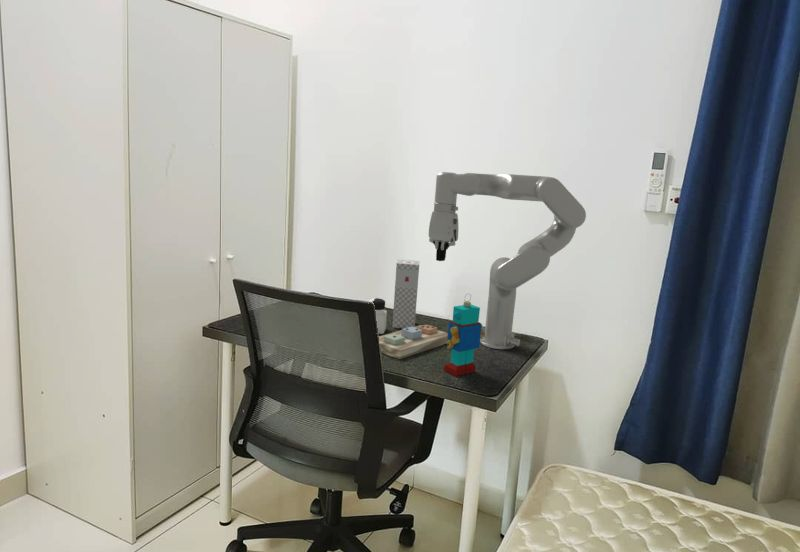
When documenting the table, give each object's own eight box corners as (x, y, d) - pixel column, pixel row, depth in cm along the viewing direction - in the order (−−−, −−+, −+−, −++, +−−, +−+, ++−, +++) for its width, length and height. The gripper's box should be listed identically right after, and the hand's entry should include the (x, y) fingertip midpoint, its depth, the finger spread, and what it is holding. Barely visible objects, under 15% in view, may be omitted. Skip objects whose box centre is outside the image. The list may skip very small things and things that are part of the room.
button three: (436, 335, 203) (437, 327, 203) (428, 338, 200) (428, 329, 199) (426, 332, 207) (426, 323, 206) (417, 334, 203) (418, 326, 202)
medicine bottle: (385, 328, 213) (387, 298, 211) (383, 334, 207) (385, 302, 204) (367, 326, 214) (369, 296, 212) (364, 332, 207) (366, 300, 205)
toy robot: (467, 365, 181) (474, 289, 176) (480, 371, 176) (488, 294, 171) (439, 371, 174) (446, 292, 169) (452, 378, 169) (460, 297, 164)
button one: (404, 345, 190) (405, 336, 189) (394, 348, 186) (395, 339, 186) (393, 341, 193) (393, 333, 192) (383, 344, 189) (384, 335, 189)
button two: (421, 338, 196) (422, 329, 196) (412, 341, 193) (412, 332, 192) (410, 334, 200) (411, 325, 199) (401, 337, 196) (401, 328, 195)
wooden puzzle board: (450, 342, 203) (451, 334, 202) (399, 359, 182) (400, 350, 181) (420, 332, 212) (421, 324, 211) (368, 347, 191) (368, 339, 190)
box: (393, 321, 224) (397, 259, 219) (414, 322, 223) (419, 261, 218) (392, 327, 215) (396, 263, 210) (414, 329, 215) (419, 265, 210)
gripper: (468, 210, 193) (464, 263, 197) (434, 206, 203) (430, 256, 207) (456, 211, 188) (451, 265, 192) (421, 206, 197) (417, 257, 201)
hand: (440, 260), depth 199 cm, fingers closed
